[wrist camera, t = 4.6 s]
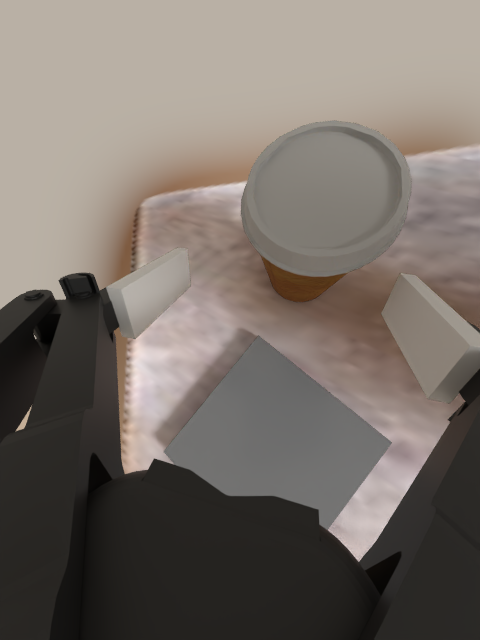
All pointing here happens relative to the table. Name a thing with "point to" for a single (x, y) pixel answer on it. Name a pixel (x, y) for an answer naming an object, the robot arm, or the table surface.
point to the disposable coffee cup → (324, 204)
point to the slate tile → (278, 437)
